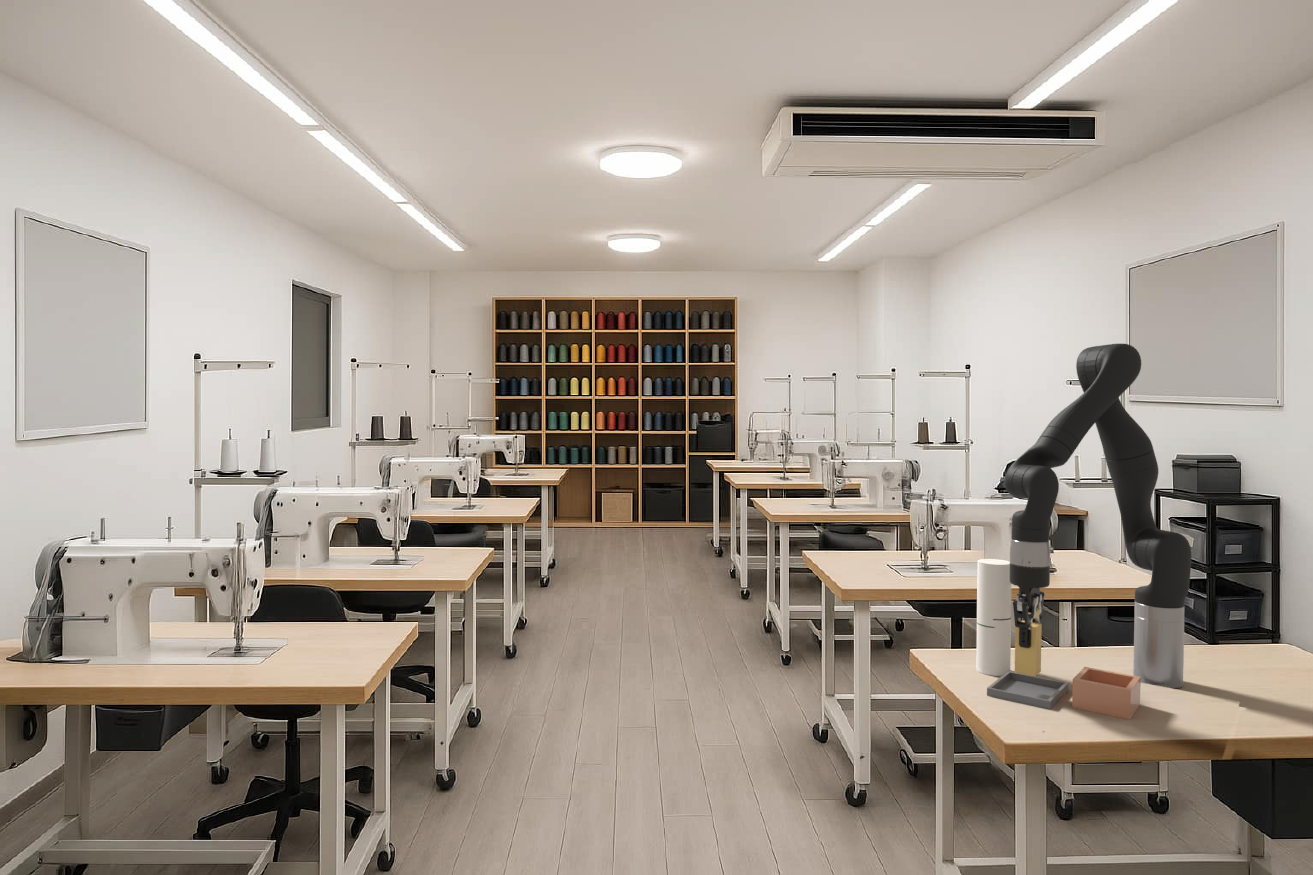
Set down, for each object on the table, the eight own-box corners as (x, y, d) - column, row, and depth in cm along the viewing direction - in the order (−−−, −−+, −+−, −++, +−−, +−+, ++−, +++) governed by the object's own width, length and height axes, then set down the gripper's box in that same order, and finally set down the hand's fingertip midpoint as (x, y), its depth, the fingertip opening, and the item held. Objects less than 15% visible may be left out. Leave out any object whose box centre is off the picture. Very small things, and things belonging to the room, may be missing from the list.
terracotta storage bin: (1084, 697, 166) (1084, 666, 166) (1140, 709, 160) (1140, 676, 159) (1072, 711, 158) (1072, 679, 158) (1130, 724, 152) (1130, 690, 152)
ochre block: (1020, 667, 169) (1021, 620, 169) (1040, 671, 166) (1041, 623, 166) (1014, 672, 166) (1015, 624, 166) (1035, 676, 163) (1036, 627, 163)
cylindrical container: (1013, 676, 179) (1015, 565, 178) (979, 674, 181) (980, 564, 180) (1006, 666, 186) (1007, 559, 185) (973, 665, 188) (974, 558, 187)
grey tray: (1008, 682, 176) (1008, 670, 176) (1068, 694, 168) (1068, 682, 168) (986, 699, 165) (986, 687, 165) (1050, 714, 157) (1050, 701, 157)
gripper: (1039, 569, 158) (1038, 656, 158) (1058, 559, 169) (1057, 640, 169) (999, 564, 163) (998, 649, 163) (1020, 555, 173) (1019, 634, 174)
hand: (1028, 644), depth 166 cm, fingers closed on ochre block, 4 cm apart
